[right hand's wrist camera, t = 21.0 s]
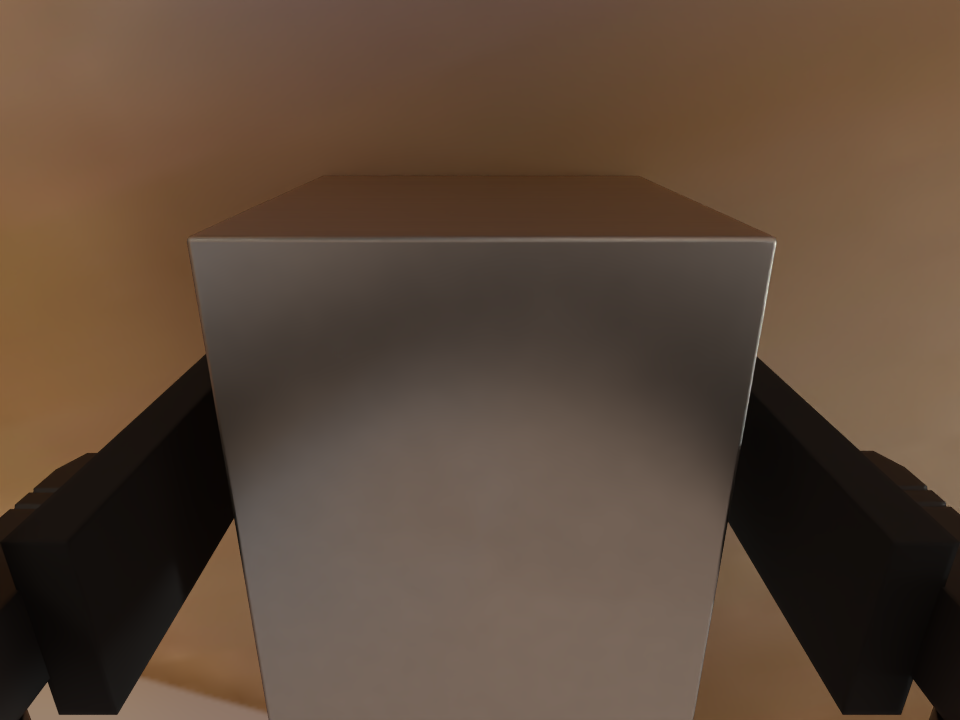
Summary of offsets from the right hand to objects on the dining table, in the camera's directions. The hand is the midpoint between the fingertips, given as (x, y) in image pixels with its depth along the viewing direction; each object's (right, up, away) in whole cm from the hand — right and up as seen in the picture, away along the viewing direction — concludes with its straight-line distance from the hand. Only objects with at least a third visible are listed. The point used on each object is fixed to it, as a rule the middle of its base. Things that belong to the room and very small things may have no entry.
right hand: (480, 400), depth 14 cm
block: (0, +1, +2) cm, 3 cm away
